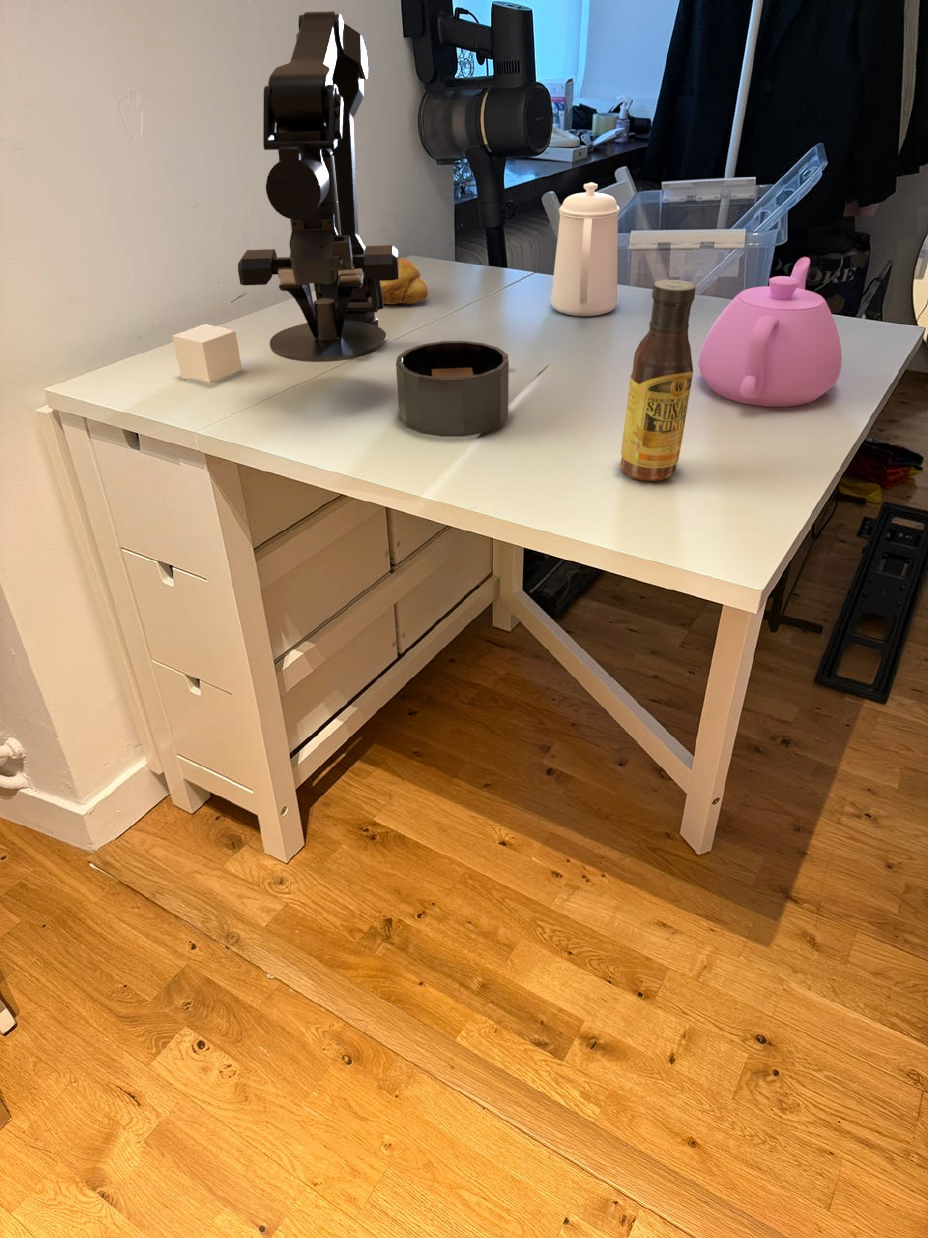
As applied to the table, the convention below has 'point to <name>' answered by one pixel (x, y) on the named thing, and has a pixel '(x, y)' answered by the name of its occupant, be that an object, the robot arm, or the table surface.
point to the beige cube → (207, 353)
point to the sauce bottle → (660, 386)
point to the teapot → (773, 345)
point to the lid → (327, 338)
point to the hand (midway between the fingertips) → (328, 336)
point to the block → (452, 372)
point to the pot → (453, 389)
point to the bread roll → (405, 285)
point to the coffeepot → (586, 254)
